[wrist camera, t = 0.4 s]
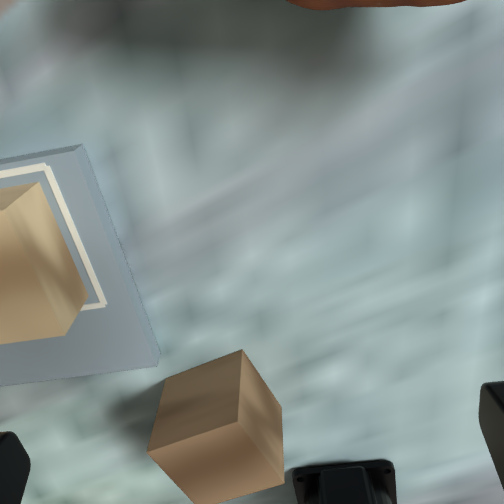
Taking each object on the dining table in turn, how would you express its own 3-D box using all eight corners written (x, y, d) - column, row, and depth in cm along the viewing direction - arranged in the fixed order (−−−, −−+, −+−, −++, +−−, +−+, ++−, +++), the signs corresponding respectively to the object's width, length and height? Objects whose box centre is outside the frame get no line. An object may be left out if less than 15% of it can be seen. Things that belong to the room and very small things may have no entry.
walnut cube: (281, 405, 27) (284, 483, 23) (209, 430, 28) (198, 508, 24) (242, 348, 25) (237, 421, 21) (166, 377, 26) (146, 452, 22)
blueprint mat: (160, 353, 25) (156, 367, 24) (-5, 375, 26) (-15, 389, 26) (82, 144, 20) (73, 151, 19) (-124, 182, 21) (-142, 191, 20)
